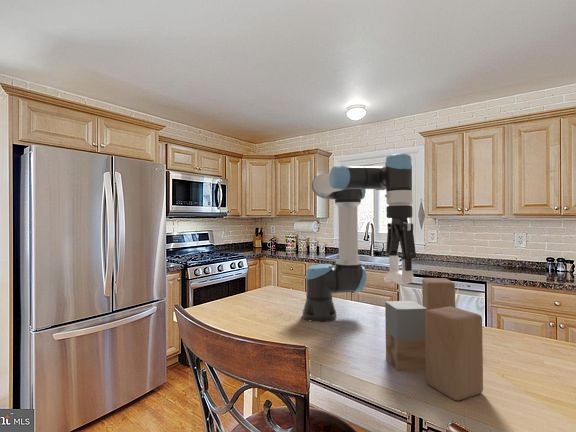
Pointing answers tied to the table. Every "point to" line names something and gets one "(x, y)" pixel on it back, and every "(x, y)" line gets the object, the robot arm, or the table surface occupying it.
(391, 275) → the soap
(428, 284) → the wooden block
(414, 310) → the grey cube
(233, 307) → the table surface
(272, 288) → the table surface
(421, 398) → the table surface
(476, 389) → the block
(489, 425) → the table surface
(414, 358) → the walnut base cube
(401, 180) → the robot arm
